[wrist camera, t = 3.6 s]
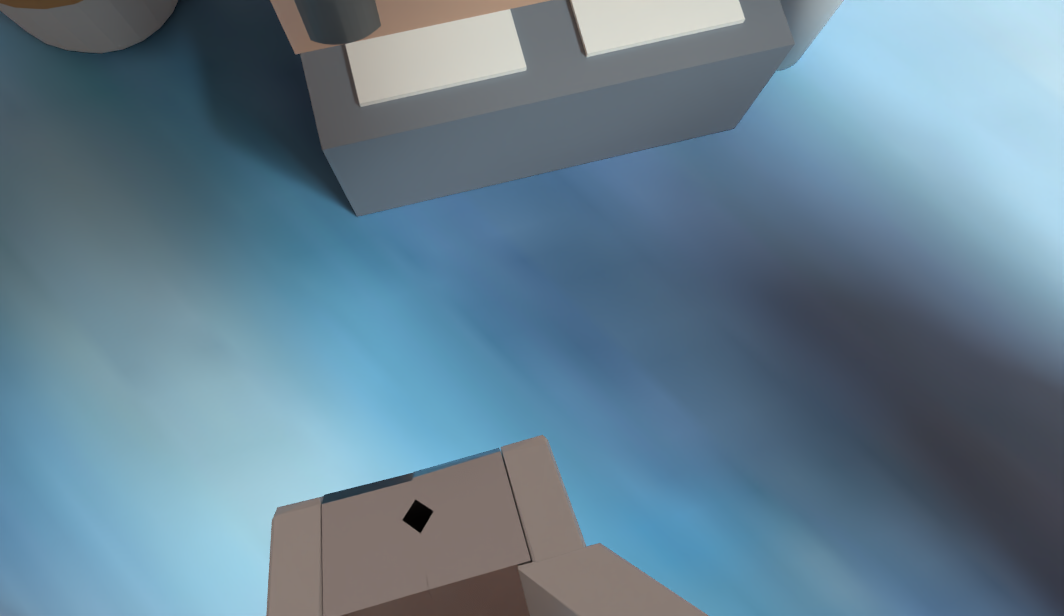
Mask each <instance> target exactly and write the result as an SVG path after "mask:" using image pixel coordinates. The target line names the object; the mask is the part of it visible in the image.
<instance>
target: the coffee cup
mask: <svg viewBox="0 0 1064 616" xmlns="http://www.w3.org/2000/svg"><path fill="white" fill-rule="evenodd" d="M177 2H178V0H0V11H1V12H3V13H4V14H5V15H6V16H8V17H9V18H10V19H11V20H13V21H14V22H15V23H16V24H18V25H19V26H20V27H21V28H23V29H24V30H25V31H26V32H28V33H30V34H31V35H33V36H34V37H36V38H38V39H39V40H41V41H42V42H44V43H46V44H49V45H52V46H55V47H58V48H62V49H65V50H68V51H78V52H88V53H106V52H111V51H117V50H123V49H125V48H128V47H130V46H132V45H134V44H137V43H139V42H141V41H143V40H145V39H146V38H148V37H149V36H150V35H152V34H153V33H154V32H156V31H157V30H158V29H160V28H161V26H162V25H163V24H164V23H165V21H166V20H167V19H168V18H169V17H170V15H171V14H172V13H173V11H174V9H175V6H176V4H177Z"/></svg>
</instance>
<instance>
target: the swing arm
mask: <svg viewBox="0 0 1064 616" xmlns="http://www.w3.org/2000/svg"><path fill="white" fill-rule="evenodd" d="M270 1H271V3H272V5H273V8H274V10H275V12H276V14H277V16H278V18H279V20H280V23H281V25H282V27H283V29H284V31H285V33H286V35H287V38H288V40H289V42H290V44H291V46H292V48H293V50H294V52H295V54H300V53H305V52H310V51H314V50H319V49H324V48H328V47H333V46H338V45H343V44H348V43H352V42H357V41H361V40H366V39H371V38H376V37H380V36H385V35H390V34H394V33H399V32H404V31H409V30H413V29H418V28H423V27H428V26H432V25H437V24H442V23H446V22H451V21H456V20H461V19H465V18H470V17H475V16H479V15H484V14H489V13H494V12H498V11H503V10H508V9H512V8H517V7H522V6H527V5H531V4H536V3H541V2H546V1H550V0H270Z"/></svg>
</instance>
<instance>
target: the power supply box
mask: <svg viewBox="0 0 1064 616" xmlns="http://www.w3.org/2000/svg"><path fill="white" fill-rule="evenodd" d="M843 1H844V0H550V1H546V2H541V3H536V4H531V5H527V6H522V7H517V8H512V9H508V10H503V11H498V12H494V13H489V14H484V15H479V16H475V17H470V18H465V19H461V20H456V21H451V22H446V23H442V24H437V25H432V26H428V27H423V28H418V29H413V30H409V31H404V32H399V33H394V34H390V35H385V36H380V37H376V38H371V39H366V40H361V41H357V42H352V43H348V44H343V45H338V46H333V47H328V48H324V49H319V50H314V51H310V52H305V53H300V56H301V60H302V64H303V69H304V73H305V77H306V82H307V86H308V90H309V95H310V99H311V103H312V108H313V112H314V117H315V121H316V125H317V130H318V134H319V138H320V143H321V147H322V151H323V153H324V154H325V156H326V158H327V160H328V162H329V164H330V166H331V168H332V170H333V172H334V174H335V175H336V177H337V179H338V181H339V183H340V185H341V187H342V189H343V191H344V193H345V195H346V196H347V198H348V200H349V202H350V204H351V206H352V208H353V210H354V212H355V214H356V216H357V217H358V216H362V215H366V214H371V213H375V212H379V211H383V210H388V209H392V208H396V207H401V206H405V205H409V204H413V203H418V202H422V201H426V200H431V199H435V198H439V197H443V196H448V195H452V194H456V193H460V192H465V191H469V190H473V189H478V188H482V187H486V186H490V185H495V184H499V183H503V182H508V181H512V180H516V179H520V178H525V177H529V176H533V175H537V174H542V173H546V172H550V171H555V170H559V169H563V168H567V167H572V166H576V165H580V164H585V163H589V162H593V161H597V160H602V159H606V158H610V157H614V156H619V155H623V154H627V153H632V152H636V151H640V150H644V149H649V148H653V147H657V146H662V145H666V144H670V143H674V142H679V141H683V140H687V139H691V138H696V137H700V136H704V135H709V134H713V133H717V132H721V131H726V130H730V129H734V128H735V127H736V125H737V124H738V123H739V121H740V120H741V118H742V117H743V116H744V114H745V113H746V112H747V110H748V109H749V107H750V106H751V105H752V103H753V102H754V100H755V99H756V98H757V96H758V95H759V93H760V92H761V91H762V89H763V88H764V86H765V85H766V84H767V82H768V81H769V79H770V78H771V77H772V75H773V74H774V73H775V71H778V70H784V69H787V68H789V67H791V66H793V65H794V64H795V63H796V62H797V61H798V60H799V59H800V58H801V56H802V55H803V54H804V52H805V51H806V50H807V48H808V47H809V46H810V44H811V43H812V42H813V40H814V39H815V38H816V36H817V35H818V34H819V33H820V31H821V30H822V29H823V27H824V26H825V25H826V23H827V22H828V21H829V19H830V18H831V17H832V15H833V14H834V13H835V11H836V10H837V9H838V7H839V6H840V5H841V3H842V2H843Z"/></svg>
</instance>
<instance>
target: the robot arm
mask: <svg viewBox="0 0 1064 616" xmlns="http://www.w3.org/2000/svg"><path fill="white" fill-rule="evenodd" d="M266 616H708V615H707V614H705V613H704V612H702V611H701V610H699V609H698V608H696V607H695V606H693V605H692V604H690V603H689V602H687V601H686V600H684V599H683V598H681V597H680V596H678V595H677V594H675V593H674V592H672V591H671V590H669V589H668V588H666V587H665V586H663V585H662V584H660V583H659V582H658V581H656V580H655V579H653V578H652V577H650V576H649V575H647V574H646V573H644V572H643V571H641V570H640V569H638V568H637V567H635V566H634V565H632V564H631V563H629V562H628V561H626V560H625V559H623V558H622V557H620V556H619V555H617V554H616V553H614V552H613V551H611V550H610V549H608V548H607V547H605V546H604V545H602V544H601V543H598V544H594V545H590V546H587V547H586V544H585V542H584V539H583V536H582V533H581V530H580V528H579V525H578V522H577V519H576V517H575V514H574V511H573V508H572V506H571V503H570V500H569V497H568V494H567V492H566V489H565V486H564V483H563V481H562V478H561V475H560V472H559V470H558V467H557V464H556V461H555V458H554V456H553V453H552V450H551V447H550V445H549V442H548V440H547V439H546V438H545V437H544V436H543V435H541V436H537V437H534V438H530V439H527V440H523V441H520V442H517V443H513V444H510V445H506V446H503V447H501V451H500V449H499V448H497V449H493V450H490V451H486V452H483V453H479V454H476V455H472V456H469V457H465V458H462V459H458V460H455V461H451V462H447V463H444V464H440V465H437V466H433V467H430V468H426V469H423V470H419V471H416V472H414V473H410V474H406V475H402V476H398V477H394V478H390V479H386V480H382V481H378V482H374V483H370V484H366V485H362V486H358V487H354V488H350V489H346V490H342V491H338V492H334V493H330V494H326V495H324V496H323V497H319V498H315V499H310V500H306V501H302V502H298V503H294V504H290V505H286V506H282V507H277V510H276V512H275V514H274V517H273V519H272V528H271V546H270V563H269V580H268V598H267V615H266Z"/></svg>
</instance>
